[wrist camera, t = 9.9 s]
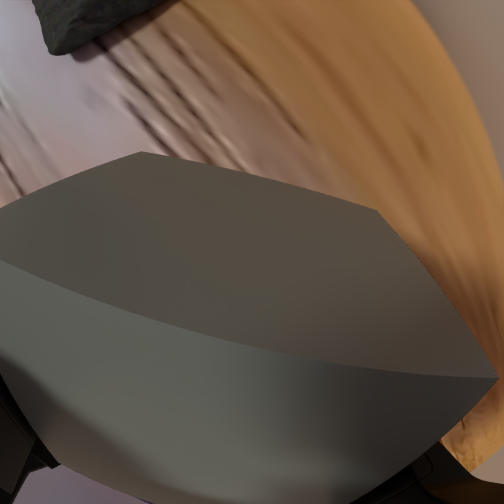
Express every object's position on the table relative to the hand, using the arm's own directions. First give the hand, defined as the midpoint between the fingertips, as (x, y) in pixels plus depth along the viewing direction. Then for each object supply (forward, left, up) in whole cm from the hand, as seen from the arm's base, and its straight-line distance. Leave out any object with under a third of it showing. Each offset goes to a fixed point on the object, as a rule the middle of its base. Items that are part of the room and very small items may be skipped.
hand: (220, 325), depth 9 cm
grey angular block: (0, 0, -2) cm, 2 cm away
